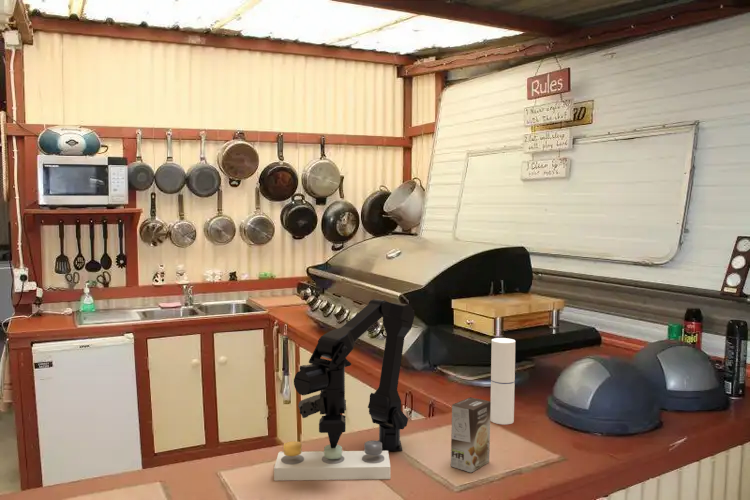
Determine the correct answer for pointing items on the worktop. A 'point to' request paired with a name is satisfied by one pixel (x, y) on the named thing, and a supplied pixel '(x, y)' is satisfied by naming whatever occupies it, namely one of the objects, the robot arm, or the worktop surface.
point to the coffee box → (470, 434)
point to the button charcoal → (373, 447)
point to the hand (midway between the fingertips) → (333, 447)
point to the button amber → (292, 448)
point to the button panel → (332, 466)
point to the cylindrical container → (502, 380)
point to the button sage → (332, 452)
